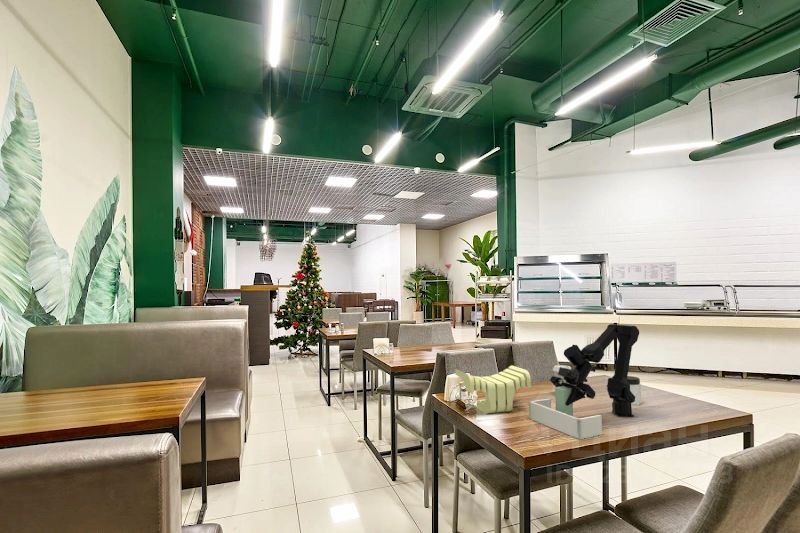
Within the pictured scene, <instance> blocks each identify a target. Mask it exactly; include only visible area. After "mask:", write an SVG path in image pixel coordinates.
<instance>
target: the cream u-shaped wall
mask: <svg viewBox="0 0 800 533" xmlns="http://www.w3.org/2000/svg"><path fill="white" fill-rule="evenodd" d="M602 417H603V416H602V415H601V414H597V415H591V416H587V417H586V416H585V417H581V418H579V417H575V416H574V415H573V416H570V415H567V414H565V413H562V412H559V411H556V409H553V408H552V398H545V399H543V398H542V399H537V400H530V401H528V418H529V419H530V420H533V421H535V422H537V423H539V424H541V425H543V426H546V427H549V428H552V429H554V430H557V431H559V432H561V433H563V434H566V435H568V436H571V437H573V438H575V439H577V438H578V440H584V438H585V439H589V438H594V437H598V435H599V436H602V435H603V421H602V420H603V419H602ZM593 436H594V437H593Z"/></svg>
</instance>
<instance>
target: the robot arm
mask: <svg viewBox="0 0 800 533" xmlns="http://www.w3.org/2000/svg"><path fill="white" fill-rule="evenodd" d="M639 335H640V330H639V328H638V327H637V326H636V325H631V324H629V325H628V324H618V323H617V324H615V323H610V324H608V325H607V328H605V330H603V332H602V333H601V334H600V335H599V336H598V337H597V339H596V340H594V341H593V342H592V343H590V344H587V345H585V346H584V347H583V348H582V349H580V347H579V345H577V344H572V346H569V347H567V348H565V349H564V351H563V356H564V357H565V359H567V361H568V362H569V363H570V364H571V366H574V368H573V367H571V369H566V368H562V367H560V368H559V372H558V375H561V376H563V377H564V378H563V379H564V380H566V382H564V381H563V380H562V379H561V378H560V377H557V376H554V375H552V376H551V377H550V379H549V381H550V383H552V385H553V386H554V388H555V387H562V386H564V387H567V388H571V389H572V392H571V394H570V396H569V397H568V399H567V401H566V403H565V404H566V406H568V405H570V404H572V403H575V402H577V401H580V400H582V399H586V397H587V398H589V399H591V400H593V399H594V398H595V397H596V391H595V390H594V389H593V387H592V386H591V385H590V384H588V383H587V382H588V379H587V378H588V376H589V374H590V373H591V372H593V373H595V372H596V368H595V365H594V364H592V363H597V364H598V363H600V362H601V361H602V360H603V358H604V356H605V350H607V348H608V347H609V345H611V344H612V342H613V341H614V340H615V339H617V341H618V343H619V344H618V349H617V356H616V362H615V369H614V374H613V376H612V377H608V378H607V383H606V390H607V394H608V396H609V399H612V402H611V405H612V406H611V407H612V408H611V409H612V410H611V413H613V414H614V415H616V416H617V417H631V418H633V417H635V416H634V414H633V411H632V410H633V409H632V405H631V403H633V402H635V396H634V395H633V394H632V392H631V391H630V384H629V382H628V379H627V376H629V369H630V363H631V362H630V361H631V356H632V350H633V349H632V348H633V346H634V345H635V344H636V343H637V342H638V339H639Z"/></svg>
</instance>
